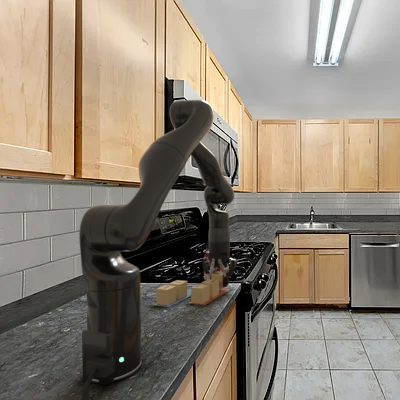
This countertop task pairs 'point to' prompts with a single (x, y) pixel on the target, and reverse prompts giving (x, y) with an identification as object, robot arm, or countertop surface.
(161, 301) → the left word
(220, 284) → the small cardboard box
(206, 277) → the soda can
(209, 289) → the wooden blocks on tray
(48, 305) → the countertop surface
